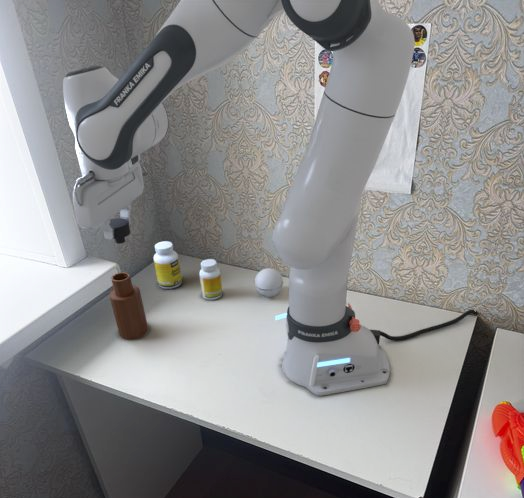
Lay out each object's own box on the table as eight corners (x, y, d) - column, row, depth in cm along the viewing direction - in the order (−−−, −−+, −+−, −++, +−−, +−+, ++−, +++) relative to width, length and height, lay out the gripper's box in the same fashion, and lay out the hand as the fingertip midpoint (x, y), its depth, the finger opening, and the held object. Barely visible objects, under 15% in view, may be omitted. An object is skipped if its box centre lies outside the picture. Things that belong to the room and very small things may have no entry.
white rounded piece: (249, 296, 130) (247, 271, 126) (267, 284, 135) (266, 260, 130) (280, 308, 125) (279, 283, 121) (297, 295, 130) (297, 270, 125)
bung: (134, 236, 107) (130, 217, 104) (129, 246, 103) (125, 227, 101) (111, 237, 107) (107, 218, 104) (106, 247, 103) (101, 228, 101)
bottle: (150, 322, 123) (138, 268, 114) (145, 339, 117) (132, 283, 108) (122, 324, 123) (108, 269, 114) (116, 340, 117) (101, 285, 108)
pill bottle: (171, 292, 134) (164, 252, 127) (153, 286, 137) (145, 247, 130) (187, 281, 138) (181, 242, 131) (169, 275, 141) (162, 237, 134)
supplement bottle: (198, 294, 132) (193, 262, 126) (214, 287, 135) (211, 255, 129) (209, 302, 129) (205, 269, 123) (226, 295, 131) (223, 262, 125)
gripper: (88, 184, 87) (105, 256, 95) (143, 148, 102) (154, 213, 110) (56, 181, 88) (76, 252, 97) (116, 146, 103) (128, 210, 112)
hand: (118, 231), depth 104 cm, fingers closed on bung, 5 cm apart
